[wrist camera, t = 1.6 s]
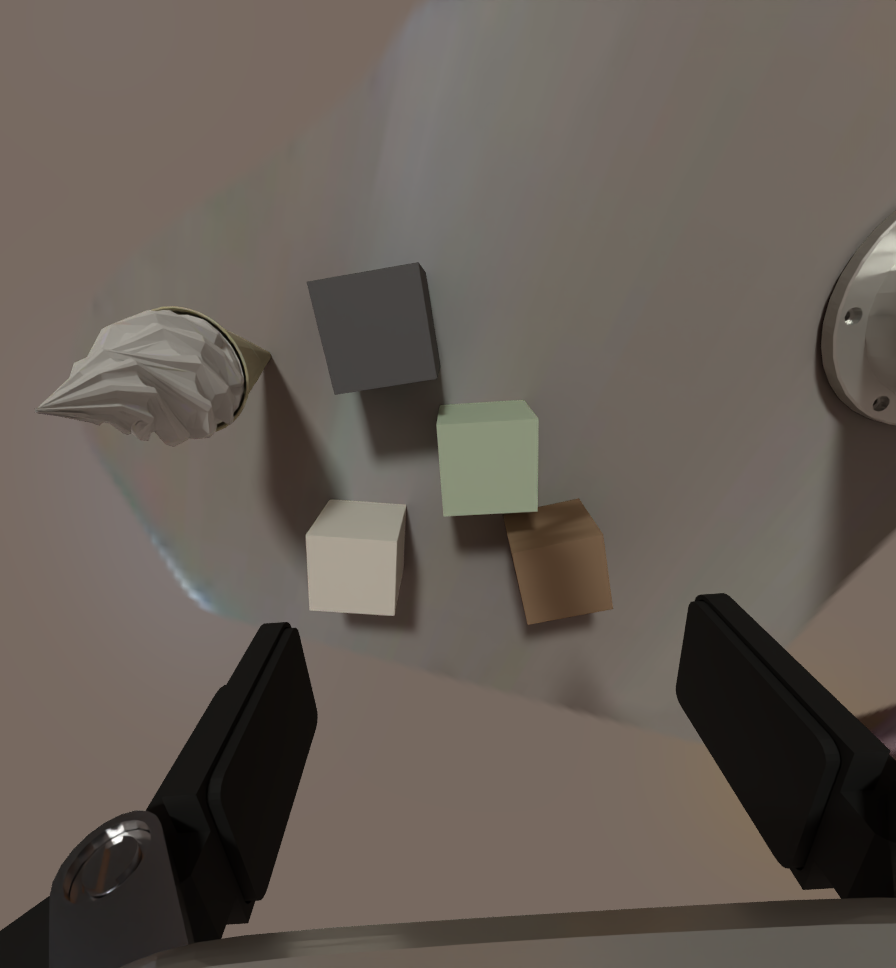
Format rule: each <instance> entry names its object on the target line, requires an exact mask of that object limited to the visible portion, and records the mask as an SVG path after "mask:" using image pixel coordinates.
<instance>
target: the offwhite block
mask: <svg viewBox="0 0 896 968" xmlns="http://www.w3.org/2000/svg"><path fill="white" fill-rule="evenodd" d="M405 521H406V505H402V504H388V503H374V502H360V501H346V500H333V499H330V500H329V501H328V503H327V504H326V506H325V507H324V509H323V510H322V511H321V513H320V514H319V516H318V517H317V519H316V520H315V522H314V523H313V525H312V526H311V528H310V529H309V531H308V532H307V534H306V551H307V570H308V588H309V607H310V610H314V611H329V612H343V613H358V614H373V615H387V616H395V611H396V606H397V601H398V596H399V590H400V585H401V580H402V575H403V570H404V546H405Z"/></svg>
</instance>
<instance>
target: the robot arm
mask: <svg viewBox="0 0 896 968" xmlns="http://www.w3.org/2000/svg"><path fill="white" fill-rule="evenodd" d="M821 351H822V360H823V367H824V370H825V373H826V376H827V379H828V381H829V384H830V386H831V387H832V389H833V390H834V392H835V393H836V395H837V396H838V398H839V399H840V400H841V401H842V402H843V403H845V404H846V405H847V406H848V407H849V408H850V409H851V410H853V411H855V412H857V413H859V414H861V415H863V416H865V417H867V418H869V419H872V420H876V421H880V422H883V423H887V424H890V425H896V210H895V211H894V212H893V213H892V214H891V215H890V216H889V217H888V218H887V219H885V220H884V221H883V222H882V223H881V224H880V225H879V226H878V227H876V228H875V230H874V231H873V232H872V233H871V234H870V235H869V237H868V238H867V239H866V240H865V241H864V242H863V244H862V245H861V246H860V247H859V248H858V249H857V251H856V252H855V254H854V255H853V257H852V258H851V260H850V261H849V263H848V264H847V266H846V268H845V269H844V271H843V272H842V274H841V276H840V278H839V280H838V282H837V284H836V286H835V289H834V291H833V293H832V295H831V297H830V300H829V303H828V307H827V311H826V314H825V318H824V321H823V329H822V339H821ZM676 695H677V698H678V701H679V703H680V705H681V707H682V709H683V710H684V712H685V713H686V715H687V717H688V718H689V720H690V721H691V723H692V725H693V726H694V728H695V729H696V731H697V733H698V734H699V736H700V738H701V739H702V741H703V742H704V744H705V746H706V747H707V749H708V750H709V752H710V754H711V755H712V757H713V758H714V760H715V762H716V763H717V765H718V766H719V768H720V770H721V771H722V773H723V775H724V776H725V778H726V779H727V781H728V783H729V784H730V786H731V787H732V789H733V791H734V792H735V794H736V795H737V797H738V799H739V800H740V802H741V804H742V805H743V807H744V808H745V810H746V812H747V813H748V815H749V816H750V818H751V820H752V821H753V823H754V825H755V826H756V828H757V829H758V831H759V833H760V834H761V836H762V837H763V839H764V841H765V842H766V844H767V845H768V847H769V849H770V850H771V852H772V854H773V855H774V856H775V858H776V859H777V861H778V862H779V863H780V864H781V865H782V866H783V867H785V868H790V870H791V871H792V873H793V875H794V876H795V878H796V879H797V881H798V882H799V884H800V886H801V887H802V889H803V890H809V889H826V888H834V889H835V890H836V892H837V893H838V895H839V896H840V898H841V899H819V900H789V901H768V902H750V903H733V904H732V903H731V904H713V905H694V906H676V907H657V908H640V909H639V908H638V909H621V910H606V911H588V912H571V913H556V914H555V913H554V914H538V915H522V916H506V917H505V916H504V917H488V918H472V919H458V920H442V921H426V922H411V923H398V924H397V923H396V924H381V925H367V926H351V927H336V928H324V929H312V930H301V931H290V932H279V933H267V934H256V935H244V936H238V937H231V938H225V939H221V938H222V935H223V932H224V929H225V926H226V925H227V924H242V923H248V922H249V919H250V915H251V913H252V909H253V906H254V903H255V901H258V900H261V899H262V898H263V897H264V895H265V893H266V891H267V888H268V884H269V881H270V878H271V875H272V871H273V868H274V865H275V861H276V858H277V854H278V852H279V848H280V845H281V841H282V838H283V835H284V832H285V828H286V825H287V822H288V819H289V815H290V812H291V809H292V806H293V802H294V799H295V796H296V792H297V789H298V786H299V783H300V779H301V776H302V773H303V769H304V766H305V763H306V759H307V756H308V753H309V750H310V746H311V743H312V740H313V736H314V733H315V730H316V726H317V708H316V704H315V699H314V695H313V691H312V687H311V683H310V678H309V674H308V670H307V666H306V662H305V657H304V653H303V648H302V644H301V640H300V636H299V632H298V630H297V628H291V625H290V624H289V623H288V622H282V623H266V624H263V625H262V626H261V627H260V628H259V630H258V632H257V633H256V635H255V637H254V638H253V640H252V642H251V644H250V645H249V647H248V649H247V650H246V652H245V654H244V656H243V657H242V659H241V661H240V662H239V664H238V666H237V668H236V669H235V671H234V673H233V675H232V676H231V678H230V680H229V681H228V683H227V685H224V686H223V687H221V688H220V689H219V690H218V692H217V693H216V694H215V696H214V698H213V699H212V701H211V703H210V704H209V706H208V708H207V709H206V711H205V713H204V714H203V716H202V718H201V719H200V721H199V723H198V724H197V726H196V728H195V729H194V731H193V733H192V734H191V736H190V738H189V739H188V741H187V743H186V744H185V746H184V748H183V749H182V751H181V753H180V754H179V756H178V758H177V759H176V761H175V763H174V764H173V766H172V768H171V770H170V771H169V773H168V774H167V776H166V778H165V779H164V781H163V783H162V784H161V786H160V788H159V789H158V791H157V793H156V795H155V796H154V798H153V799H152V801H151V803H150V804H149V806H148V808H147V809H146V811H132V812H129V813H125V814H121V815H119V816H117V817H115V818H113V819H111V820H109V821H107V822H105V823H104V824H102V825H101V826H99V827H98V828H97V829H96V830H94V831H92V832H91V833H90V834H88V835H87V836H86V837H85V838H84V839H83V840H82V841H81V842H80V843H79V844H78V845H77V846H76V847H75V848H74V849H73V850H72V852H71V853H70V854H69V856H68V857H67V858H66V860H65V861H64V862H63V864H62V865H61V867H60V869H59V870H58V873H57V874H56V876H55V879H54V880H53V883H52V888H51V892H50V896H49V897H47V898H46V899H44V900H43V901H42V902H40V903H39V904H37V905H36V906H35V907H33V908H32V909H30V910H29V911H28V912H26V913H25V914H23V915H22V916H21V917H19V918H18V919H16V920H15V921H14V922H12V923H11V924H9V925H8V926H7V927H5V928H4V929H2V930H1V931H0V968H896V761H895V760H894V759H893V758H892V757H891V756H890V755H889V753H890V750H889V749H888V748H887V747H886V746H885V745H884V744H883V743H882V742H881V741H880V740H879V739H878V738H877V737H875V736H874V735H873V734H872V733H871V732H870V731H869V730H868V729H867V728H866V727H865V726H864V725H863V724H862V723H861V722H860V721H859V720H858V719H857V718H856V717H855V716H854V715H853V714H852V713H851V712H849V711H848V710H847V709H846V708H845V707H844V706H843V705H842V704H841V703H840V702H839V701H838V700H837V699H836V698H835V697H834V696H833V695H832V694H831V693H830V692H829V691H828V690H827V689H825V688H824V687H823V686H822V685H821V684H820V683H819V682H818V681H817V680H816V679H815V678H814V677H813V676H812V675H811V674H810V673H809V672H808V671H807V670H806V669H805V668H804V667H803V666H802V665H801V664H799V663H798V662H797V661H796V660H795V659H794V658H793V657H792V656H791V655H790V654H789V653H788V652H787V651H786V650H785V649H784V648H783V647H782V646H781V645H780V644H779V643H778V642H777V641H776V640H775V639H773V638H772V637H771V636H770V635H769V634H768V633H767V632H766V631H765V630H764V629H763V628H762V627H761V626H760V625H759V624H758V623H757V622H756V621H755V620H754V619H753V618H752V617H751V616H750V615H748V614H747V613H746V612H745V611H744V610H743V609H742V608H741V607H740V606H739V605H738V604H737V603H736V602H735V601H734V600H733V599H732V598H731V597H730V596H728V595H727V594H724V593H720V594H704V595H698V596H697V597H696V599H695V602H691V603H690V604H689V607H688V613H687V619H686V626H685V632H684V639H683V645H682V651H681V658H680V664H679V670H678V677H677V683H676Z"/></svg>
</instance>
